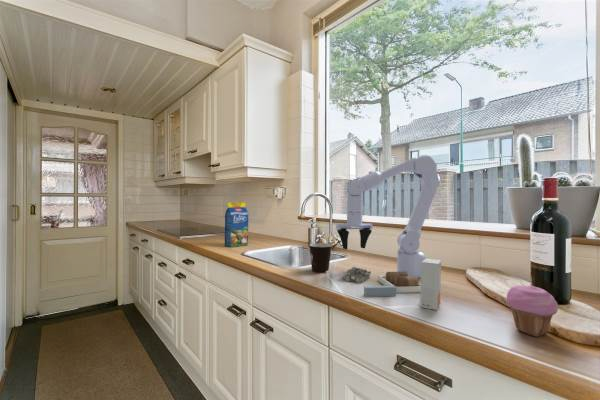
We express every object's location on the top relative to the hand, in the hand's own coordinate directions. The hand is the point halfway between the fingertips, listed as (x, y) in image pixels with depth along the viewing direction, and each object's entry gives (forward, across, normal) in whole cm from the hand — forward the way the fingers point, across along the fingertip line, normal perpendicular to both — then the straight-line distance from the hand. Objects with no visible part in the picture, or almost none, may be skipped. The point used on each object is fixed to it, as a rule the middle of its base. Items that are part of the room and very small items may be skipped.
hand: (354, 248), depth 113 cm
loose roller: (+8, +5, -22) cm, 24 cm away
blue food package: (+10, -33, +77) cm, 84 cm away
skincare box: (+10, +3, -36) cm, 38 cm away
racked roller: (+8, +6, -17) cm, 19 cm away
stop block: (+9, -6, -26) cm, 29 cm away
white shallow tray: (+9, +5, -20) cm, 23 cm away
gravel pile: (+10, -3, -8) cm, 13 cm away
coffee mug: (+10, -10, +9) cm, 16 cm away
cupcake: (+10, +12, -56) cm, 58 cm away
